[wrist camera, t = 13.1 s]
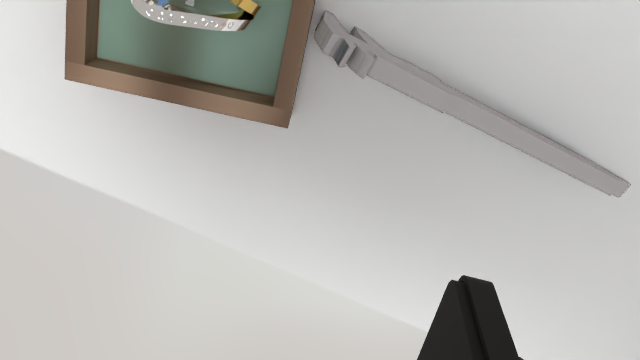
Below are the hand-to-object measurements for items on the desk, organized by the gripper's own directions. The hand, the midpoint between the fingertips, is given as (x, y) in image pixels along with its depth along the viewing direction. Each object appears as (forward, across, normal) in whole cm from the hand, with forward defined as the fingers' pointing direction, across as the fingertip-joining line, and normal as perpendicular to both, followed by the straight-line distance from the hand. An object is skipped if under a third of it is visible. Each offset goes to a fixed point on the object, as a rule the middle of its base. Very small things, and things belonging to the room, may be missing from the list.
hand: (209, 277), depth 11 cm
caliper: (+23, -10, +1) cm, 25 cm away
